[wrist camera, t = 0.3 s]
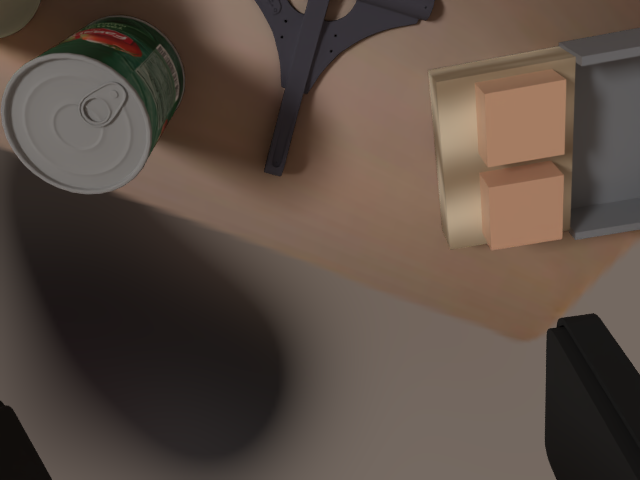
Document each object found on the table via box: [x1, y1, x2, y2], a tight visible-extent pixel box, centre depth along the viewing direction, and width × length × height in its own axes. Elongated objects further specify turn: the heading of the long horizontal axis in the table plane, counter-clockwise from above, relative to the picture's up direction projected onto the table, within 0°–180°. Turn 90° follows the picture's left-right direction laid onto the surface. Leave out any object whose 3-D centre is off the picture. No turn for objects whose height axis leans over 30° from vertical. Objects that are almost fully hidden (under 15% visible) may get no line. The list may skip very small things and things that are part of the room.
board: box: [428, 46, 576, 250], centre depth 44 cm, size 13×9×3 cm
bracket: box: [255, 0, 435, 176], centre depth 42 cm, size 14×15×3 cm
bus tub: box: [559, 28, 640, 240], centre depth 43 cm, size 14×8×4 cm, turn 10°
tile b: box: [479, 161, 564, 250], centre depth 43 cm, size 5×5×2 cm
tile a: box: [475, 69, 566, 167], centre depth 40 cm, size 5×5×2 cm
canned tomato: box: [1, 15, 185, 194], centre depth 37 cm, size 8×8×11 cm
